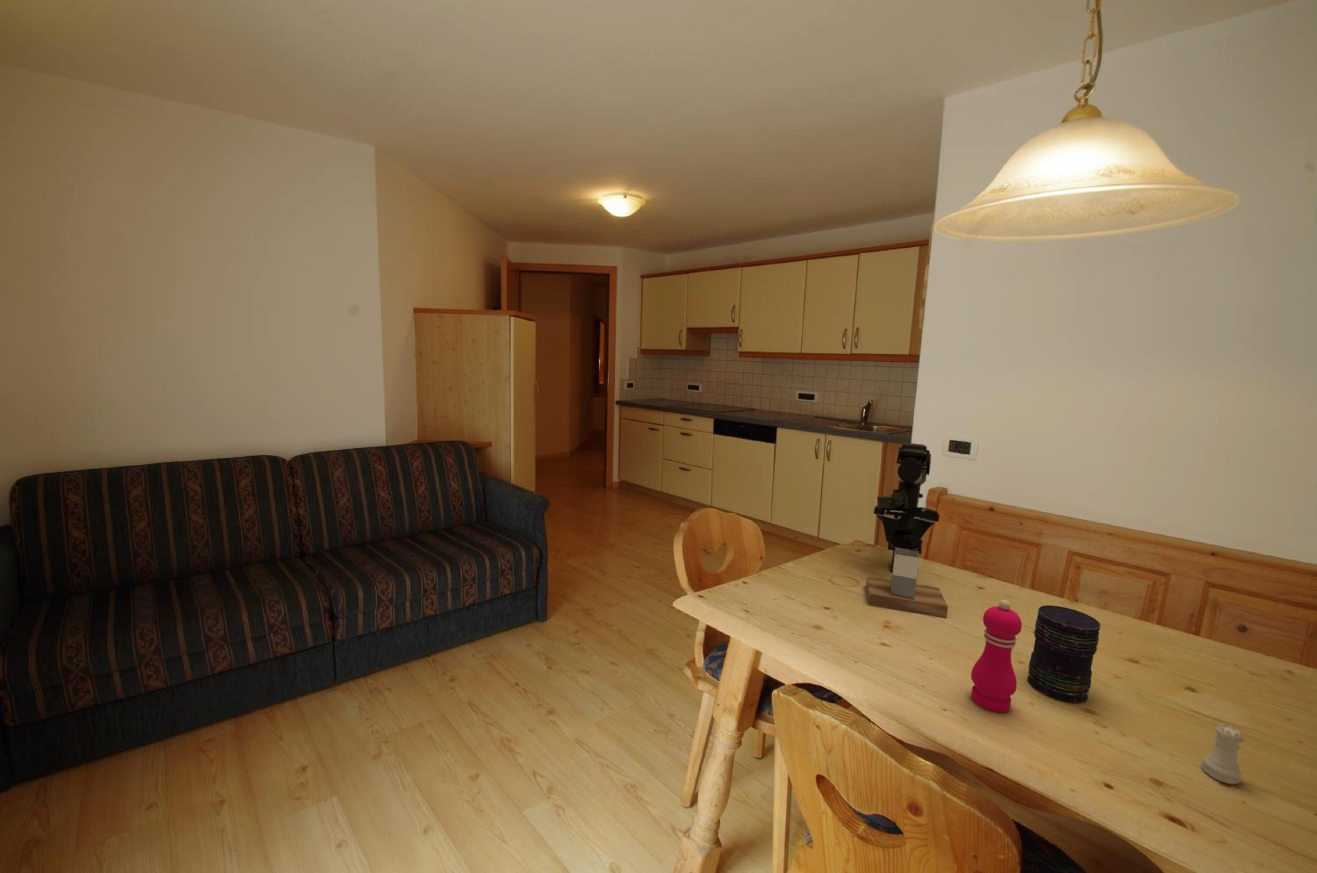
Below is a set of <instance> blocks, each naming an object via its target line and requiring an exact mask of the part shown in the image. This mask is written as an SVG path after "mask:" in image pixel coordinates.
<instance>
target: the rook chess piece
mask: <svg viewBox="0 0 1317 873" xmlns="http://www.w3.org/2000/svg"><path fill="white" fill-rule="evenodd" d="M1213 730H1214V731H1215V733H1216V736H1214V740H1215V741H1214V742H1215V743H1214V746H1213V748H1212V750H1211V752H1209V753H1208V754H1207V755H1205V756H1204V757H1203V758H1202V762H1201V763H1200V765H1201V768H1202V770H1203V771H1204V773H1206V774H1207V776H1210V777H1211V778H1212V779H1214V780H1216V781H1219V782H1221V783H1224V784H1228V785H1237V784H1240V783H1241V782H1242V780H1241V776H1242V771H1241V769H1240V766H1239V764H1238V751H1239V750H1241V747H1240V746H1239V744H1240V743H1243V742H1244V741H1245V739H1244V737H1243V732H1242V730H1240V729H1239V728H1236V729H1235V726H1233V725H1231V724H1229V727H1228V726H1227V724H1226V723H1223V722H1222V723H1218V726H1216V727H1214V728H1213Z"/></svg>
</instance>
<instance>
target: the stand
mask: <svg viewBox="0 0 1317 873" xmlns="http://www.w3.org/2000/svg"><path fill="white" fill-rule="evenodd" d="M891 581H892V580H889V579H882V578H875V577H870V576H867V577H866V585H865V591H866V595H867V596H866V597H867V601H868V606H870V607H871V606H872V607H875V608H884V609H889V610H894V611H900V612H907V613H912V614H919V615H925V616H930V617H937V618H944V619H947V618H948V611H949V610H948V609H949V606H948V603H947V602H946V600H945V597H944V596H943V593H942V591H941V589H940V587H937V586H931V585H929V586H928V585H922V584H917V583H916V588H915V597H914V600H912V599H907V598H902V597H897V596H892V595H891Z"/></svg>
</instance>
